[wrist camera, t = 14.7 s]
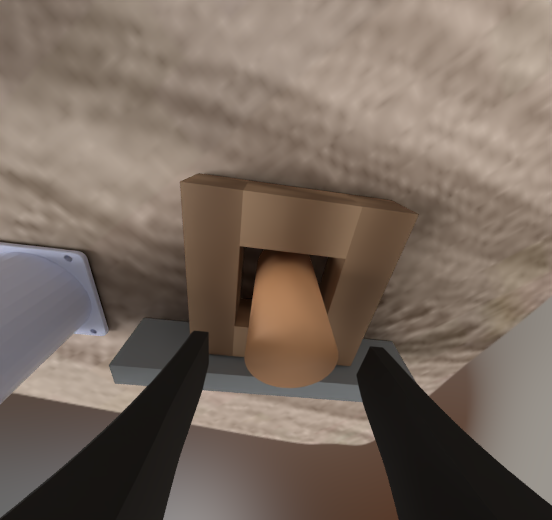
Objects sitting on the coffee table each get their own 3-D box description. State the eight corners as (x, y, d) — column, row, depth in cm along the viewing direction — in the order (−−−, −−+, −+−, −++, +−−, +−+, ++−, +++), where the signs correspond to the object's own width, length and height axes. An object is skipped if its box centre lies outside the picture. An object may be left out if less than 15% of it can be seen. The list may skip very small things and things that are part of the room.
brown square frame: (202, 322, 19) (191, 352, 16) (199, 173, 13) (180, 181, 11) (340, 335, 20) (350, 366, 17) (391, 200, 14) (418, 214, 11)
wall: (146, 334, 20) (114, 383, 16) (143, 317, 19) (108, 365, 15) (384, 356, 21) (409, 405, 17) (392, 341, 20) (420, 390, 16)
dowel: (256, 287, 17) (244, 387, 10) (257, 240, 16) (243, 323, 9) (307, 289, 18) (329, 389, 11) (314, 242, 16) (347, 327, 9)
